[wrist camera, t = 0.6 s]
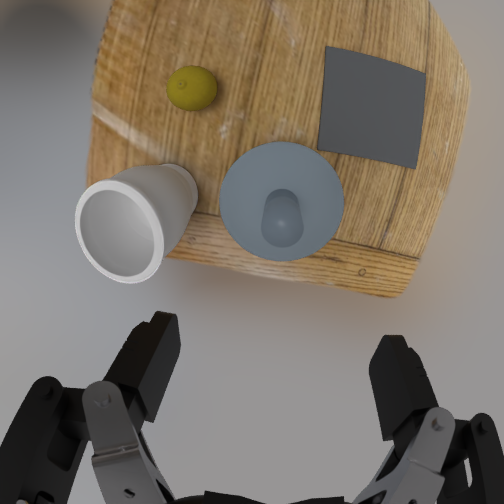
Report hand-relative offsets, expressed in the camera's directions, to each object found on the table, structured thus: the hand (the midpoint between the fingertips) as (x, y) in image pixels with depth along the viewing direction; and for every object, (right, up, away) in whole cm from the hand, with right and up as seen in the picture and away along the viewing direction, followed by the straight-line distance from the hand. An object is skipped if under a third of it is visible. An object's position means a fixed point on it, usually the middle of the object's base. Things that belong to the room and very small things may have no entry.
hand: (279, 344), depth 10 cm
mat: (+15, +22, +19) cm, 32 cm away
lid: (+2, +8, +17) cm, 19 cm away
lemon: (-7, +24, +20) cm, 32 cm away
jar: (-12, +12, +27) cm, 32 cm away
